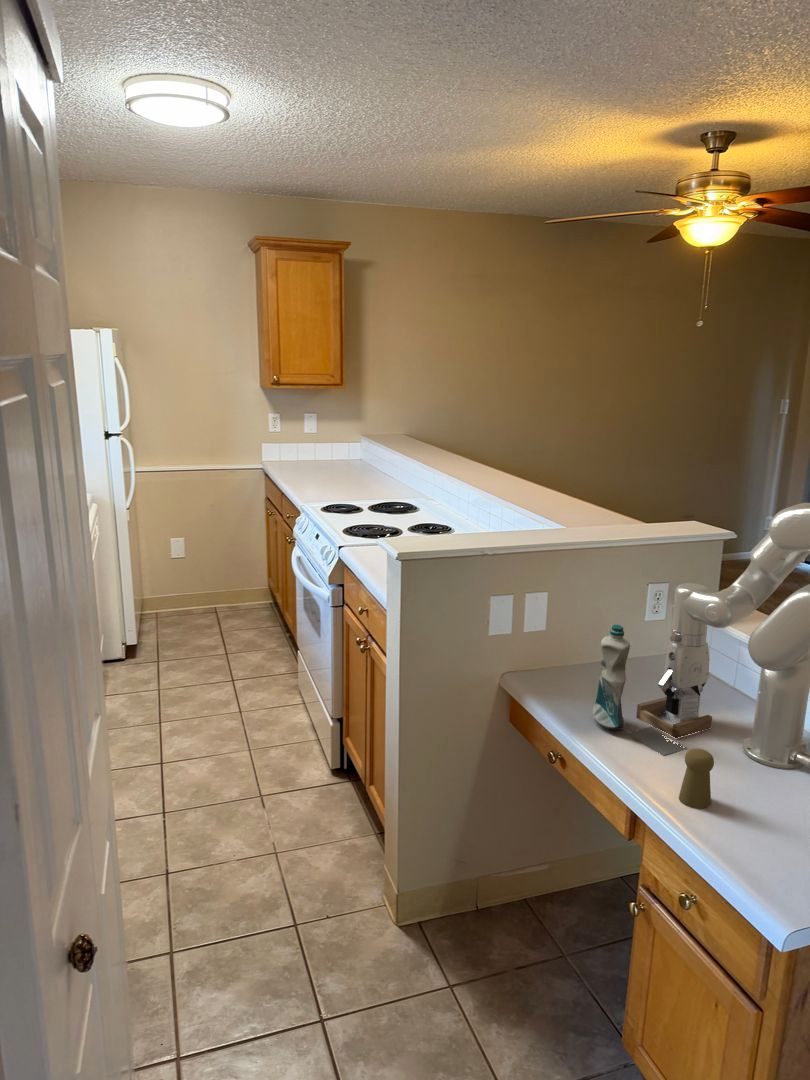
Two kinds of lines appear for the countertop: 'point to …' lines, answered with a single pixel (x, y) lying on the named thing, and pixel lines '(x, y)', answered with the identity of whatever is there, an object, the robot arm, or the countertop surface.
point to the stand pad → (655, 741)
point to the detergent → (611, 680)
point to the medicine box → (685, 706)
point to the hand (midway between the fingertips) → (682, 708)
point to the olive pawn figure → (697, 779)
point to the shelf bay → (658, 706)
